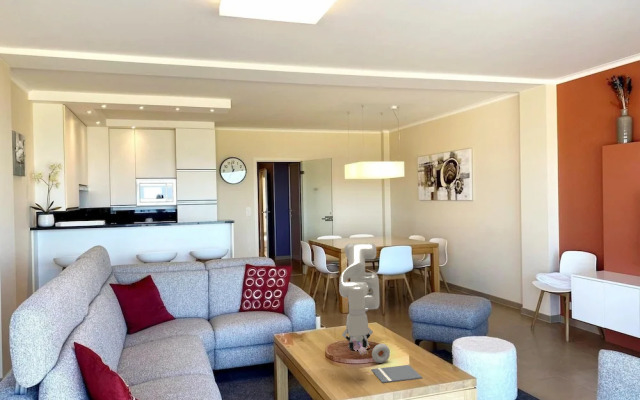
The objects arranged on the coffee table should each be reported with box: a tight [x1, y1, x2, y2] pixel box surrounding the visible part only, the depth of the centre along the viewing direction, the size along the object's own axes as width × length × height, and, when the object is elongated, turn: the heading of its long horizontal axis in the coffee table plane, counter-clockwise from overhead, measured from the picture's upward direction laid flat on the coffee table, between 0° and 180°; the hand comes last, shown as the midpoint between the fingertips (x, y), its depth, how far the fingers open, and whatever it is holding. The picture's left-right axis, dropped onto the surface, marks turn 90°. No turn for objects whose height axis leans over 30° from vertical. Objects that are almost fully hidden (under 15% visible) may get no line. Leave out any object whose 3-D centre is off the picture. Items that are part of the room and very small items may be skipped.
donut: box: [371, 343, 391, 364], centre depth 248 cm, size 10×4×10 cm, turn 108°
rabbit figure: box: [352, 339, 369, 357], centre depth 228 cm, size 6×6×15 cm
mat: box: [371, 364, 423, 384], centre depth 233 cm, size 16×20×1 cm
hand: (357, 348), depth 229 cm, fingers closed on rabbit figure, 5 cm apart
